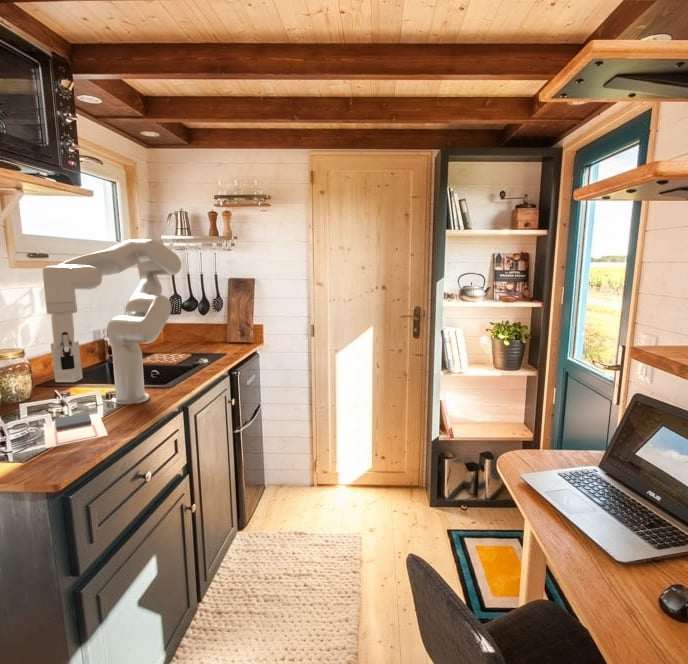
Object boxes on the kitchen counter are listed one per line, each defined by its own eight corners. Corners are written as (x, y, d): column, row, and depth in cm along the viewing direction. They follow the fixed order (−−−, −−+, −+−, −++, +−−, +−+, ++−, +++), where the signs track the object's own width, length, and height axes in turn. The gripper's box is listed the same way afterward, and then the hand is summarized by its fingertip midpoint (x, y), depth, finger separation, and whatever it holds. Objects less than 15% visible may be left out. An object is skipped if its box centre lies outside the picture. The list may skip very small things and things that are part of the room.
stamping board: (43, 425, 129) (43, 422, 129) (98, 415, 138) (98, 413, 138) (45, 450, 113) (45, 447, 113) (108, 437, 122) (108, 434, 122)
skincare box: (83, 378, 129) (79, 340, 127) (74, 382, 125) (70, 343, 122) (63, 378, 129) (59, 340, 126) (54, 382, 125) (49, 343, 122)
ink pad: (55, 422, 130) (54, 418, 130) (88, 416, 136) (88, 412, 135) (56, 430, 124) (56, 426, 124) (91, 424, 129) (91, 420, 129)
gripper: (46, 305, 127) (51, 361, 131) (46, 312, 114) (53, 374, 117) (74, 304, 132) (79, 358, 135) (78, 310, 118) (84, 371, 121)
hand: (67, 365), depth 126 cm, fingers closed on skincare box, 6 cm apart
